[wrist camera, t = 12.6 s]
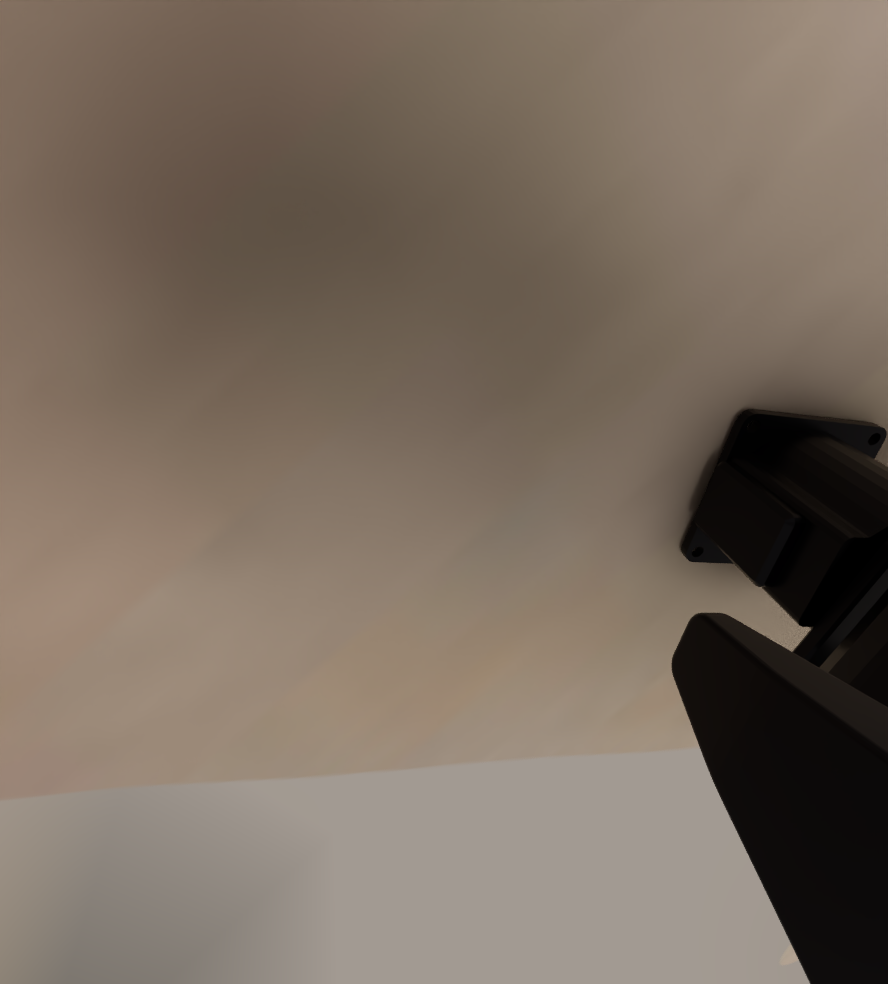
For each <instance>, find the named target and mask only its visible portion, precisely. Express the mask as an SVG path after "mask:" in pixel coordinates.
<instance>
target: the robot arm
mask: <svg viewBox="0 0 888 984" xmlns="http://www.w3.org/2000/svg"><path fill="white" fill-rule="evenodd" d="M752 421H753V423H752V425H751V426H750V427H748V425H749V423H750V422H752ZM747 427H748V428H747ZM885 438H886V430H885V429H884V428H882V427H880V426H878V425H876V424H874V423H868V422H859V421H851V420H842V419H833V418H824V417H815V416H806V415H798V414H789V413H780V412H771V411H762V410H754V409H751V410H746V411H744V412H742V413H741V414H740V415H739V416H738V418H737V419H736V421H735V423H734V425H733V428H732V430H731V432H730V435H729V437H728V439H727V442H726V444H725V446H724V449H723V451H722V453H721V456H720V458H719V460H718V463H717V465H716V467H715V470H714V472H713V474H712V477H711V479H710V481H709V484H708V486H707V488H706V491H705V493H704V495H703V498H702V500H701V502H700V505H699V507H698V509H697V512H696V514H695V516H694V519H693V521H692V523H691V526H690V528H689V530H688V533H687V535H686V537H685V540H684V542H683V544H682V547H681V552H682V554H683V555H684V556H685V557H686V558H687V559H688V560H689V561H691V562H706V563H732V564H735V565H736V566H737V567H738V568H739V569H740V570H741V571H742V572H743V573H744V574H745V575H746V576H747V577H748V578H749V579H750V580H751V581H752V582H753V583H754V584H755V585H756V586H758V587H762V588H763V589H764V590H765V591H766V592H767V593H768V594H769V595H770V596H771V597H772V598H773V599H774V600H775V601H776V602H777V603H778V604H779V605H780V606H781V607H782V608H783V609H784V610H785V611H786V612H787V613H788V614H789V615H790V616H791V617H792V618H793V619H794V620H795V621H796V622H797V623H798V624H799V625H800V626H802V627H810V628H811V630H810V631H809V632H808V634H807V635H806V636H805V637H804V638H803V640H802V641H801V642H800V643H799V644H798V646H797V647H796V648H795V649H794V650H793V652H791V651H789V650H788V649H786V648H784V647H782V646H781V645H779V644H777V643H776V642H774V641H772V640H770V639H769V638H767V637H765V636H763V635H762V634H760V633H758V632H756V631H755V630H753V629H751V628H750V627H748V626H746V625H744V624H743V623H741V622H739V621H737V620H736V619H734V618H732V617H730V616H729V615H726V614H723V613H698V614H695V615H694V616H693V617H692V618H691V619H690V621H689V622H688V624H687V627H686V629H685V631H684V633H683V635H682V637H681V639H680V642H679V644H678V646H677V648H676V650H675V652H674V655H673V657H672V673H673V677H674V680H675V682H676V685H677V688H678V690H679V693H680V696H681V698H682V701H683V704H684V706H685V709H686V712H687V714H688V717H689V720H690V722H691V725H692V728H693V730H694V733H695V736H696V738H697V741H698V744H699V746H700V749H701V751H702V754H703V757H704V760H705V762H706V765H707V767H708V770H709V772H710V775H711V777H712V779H713V782H714V784H715V786H716V788H717V791H718V793H719V795H720V797H721V799H722V801H723V804H724V806H725V808H726V810H727V812H728V814H729V816H730V818H731V820H732V822H733V824H734V826H735V828H736V830H737V833H738V835H739V837H740V839H741V841H742V843H743V845H744V847H745V849H746V851H747V853H748V855H749V857H750V860H751V862H752V864H753V866H754V868H755V870H756V872H757V874H758V876H759V878H760V880H761V882H762V884H763V887H764V889H765V891H766V893H767V895H768V897H769V899H770V901H771V903H772V905H773V907H774V909H775V911H776V913H777V916H778V918H779V920H780V922H781V924H782V926H783V928H784V930H785V932H786V934H787V936H788V938H789V940H790V943H791V945H792V947H793V949H794V951H795V953H796V955H797V957H798V959H799V961H800V963H801V965H802V967H803V969H804V971H805V974H806V976H807V978H808V980H809V982H810V984H888V467H887V466H885V465H884V464H882V463H880V462H878V461H877V460H875V459H874V458H875V457H876V455H877V453H878V451H879V449H880V448H881V446H882V444H883V442H884V441H885ZM696 547H697V549H695V548H696ZM694 549H695V550H694ZM693 550H694V551H693Z"/></svg>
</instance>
